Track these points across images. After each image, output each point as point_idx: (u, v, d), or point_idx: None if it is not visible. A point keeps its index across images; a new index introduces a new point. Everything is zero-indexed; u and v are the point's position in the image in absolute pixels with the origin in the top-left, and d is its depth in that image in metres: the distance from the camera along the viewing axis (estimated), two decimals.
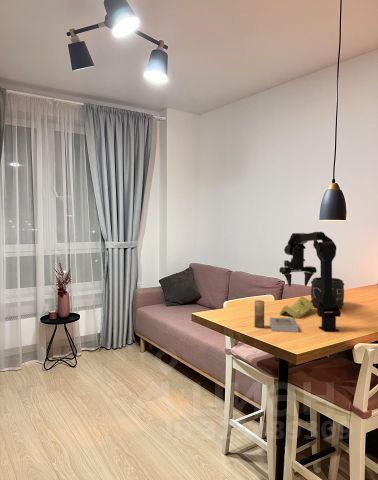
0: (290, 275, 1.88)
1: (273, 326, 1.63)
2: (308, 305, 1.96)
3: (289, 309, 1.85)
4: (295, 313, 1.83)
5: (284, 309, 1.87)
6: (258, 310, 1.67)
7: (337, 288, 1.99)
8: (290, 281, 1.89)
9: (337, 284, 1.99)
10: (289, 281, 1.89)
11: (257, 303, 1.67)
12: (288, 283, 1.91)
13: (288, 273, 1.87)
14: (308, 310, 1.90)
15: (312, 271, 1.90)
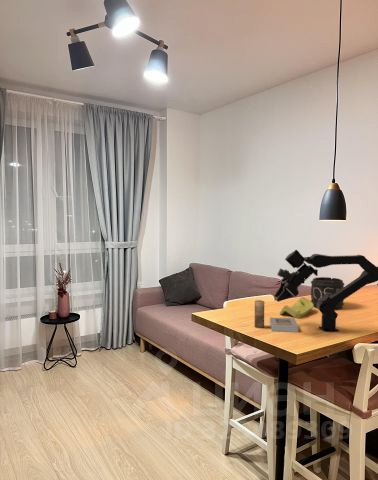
0: None
1: (273, 326, 1.63)
2: (309, 305, 1.96)
3: (289, 309, 1.85)
4: (295, 313, 1.83)
5: (284, 309, 1.87)
6: (258, 310, 1.67)
7: (337, 288, 1.99)
8: (284, 299, 1.62)
9: (337, 284, 1.99)
10: (284, 299, 1.62)
11: (257, 303, 1.67)
12: (279, 298, 1.62)
13: None
14: (308, 310, 1.90)
15: None
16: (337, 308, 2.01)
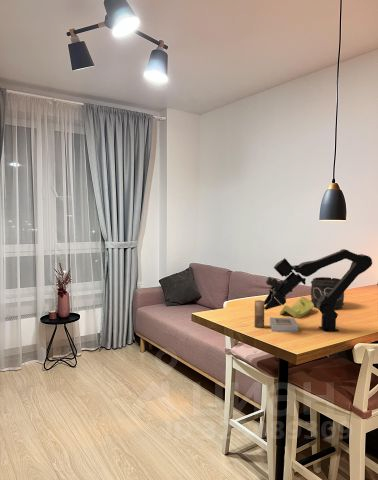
0: None
1: (273, 326, 1.63)
2: (309, 305, 1.96)
3: (289, 309, 1.85)
4: (295, 313, 1.83)
5: (284, 309, 1.87)
6: (258, 310, 1.67)
7: None
8: None
9: None
10: (272, 307, 1.63)
11: (257, 303, 1.67)
12: (267, 306, 1.63)
13: None
14: (309, 310, 1.90)
15: None
16: (337, 308, 2.01)
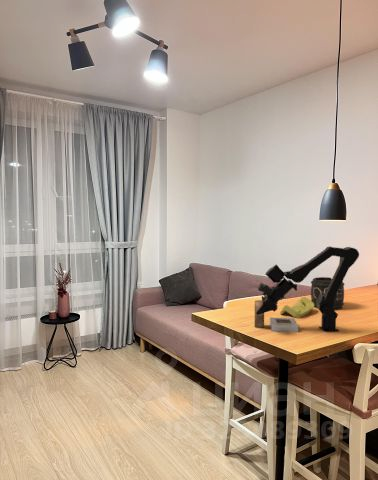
0: None
1: (273, 326, 1.63)
2: (309, 305, 1.96)
3: (289, 309, 1.86)
4: (295, 313, 1.84)
5: (284, 309, 1.88)
6: None
7: None
8: None
9: None
10: (264, 312, 1.65)
11: (257, 303, 1.67)
12: (259, 312, 1.66)
13: None
14: (309, 310, 1.90)
15: None
16: (337, 308, 2.01)
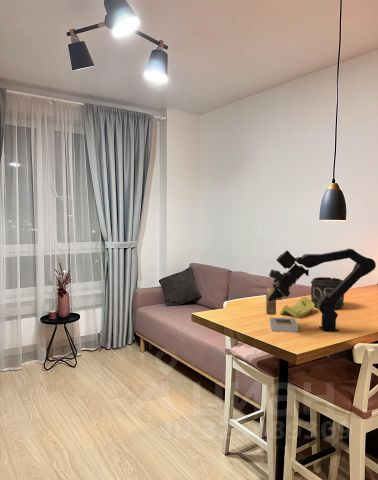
0: None
1: (273, 326, 1.63)
2: (310, 305, 1.96)
3: (289, 309, 1.86)
4: (295, 313, 1.84)
5: (284, 309, 1.88)
6: None
7: None
8: (275, 298, 1.65)
9: (337, 284, 1.99)
10: None
11: (268, 289, 1.66)
12: (271, 298, 1.65)
13: None
14: (309, 310, 1.90)
15: None
16: (337, 308, 2.01)
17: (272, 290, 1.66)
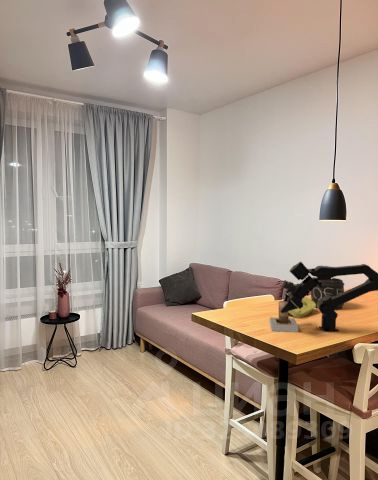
0: None
1: (273, 326, 1.63)
2: (311, 305, 1.95)
3: None
4: (295, 313, 1.84)
5: None
6: None
7: (337, 288, 1.99)
8: (288, 310, 1.63)
9: (337, 284, 1.99)
10: None
11: (281, 304, 1.66)
12: (284, 310, 1.63)
13: None
14: (310, 310, 1.90)
15: None
16: (337, 308, 2.01)
17: (285, 304, 1.65)
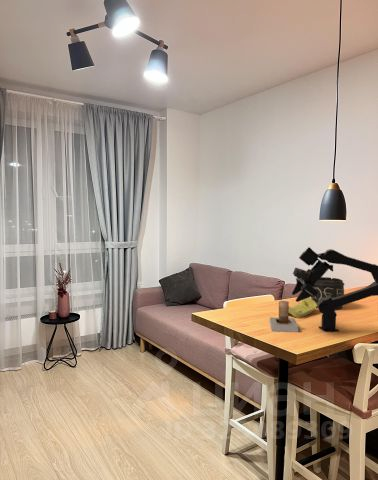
0: None
1: (273, 326, 1.63)
2: (312, 305, 1.95)
3: (289, 309, 1.86)
4: (295, 313, 1.84)
5: None
6: (282, 311, 1.66)
7: (337, 288, 1.99)
8: (303, 298, 1.63)
9: (337, 284, 1.99)
10: None
11: (281, 304, 1.66)
12: (298, 299, 1.63)
13: None
14: (310, 310, 1.89)
15: None
16: (337, 308, 2.01)
17: (285, 304, 1.65)
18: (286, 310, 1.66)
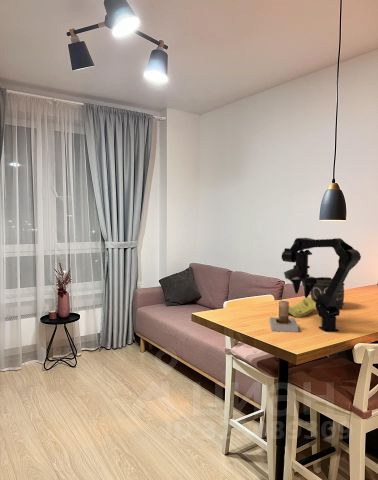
0: None
1: (273, 326, 1.63)
2: (312, 305, 1.95)
3: (290, 308, 1.86)
4: (295, 312, 1.84)
5: None
6: (282, 311, 1.66)
7: None
8: None
9: None
10: (310, 291, 1.71)
11: (281, 304, 1.66)
12: (306, 294, 1.72)
13: None
14: (310, 310, 1.90)
15: None
16: None
17: (285, 304, 1.65)
18: (286, 310, 1.66)
